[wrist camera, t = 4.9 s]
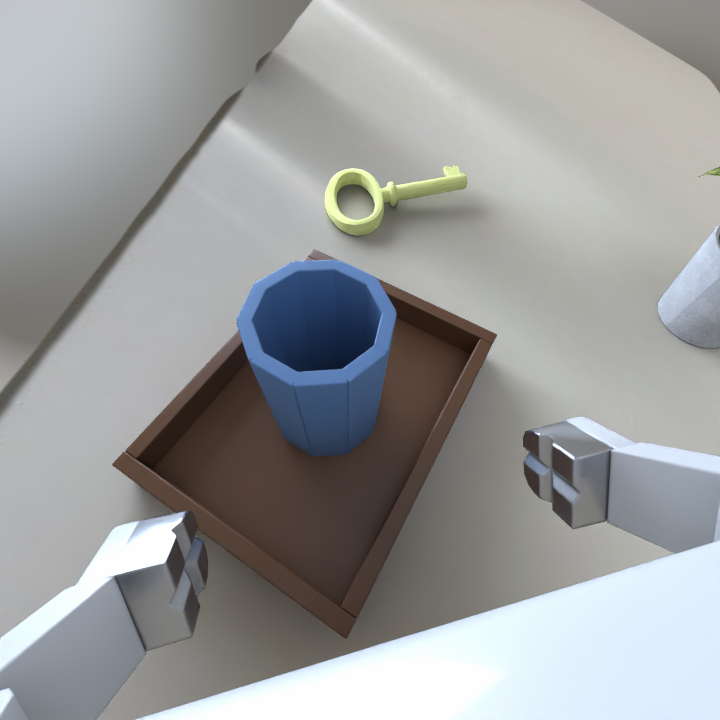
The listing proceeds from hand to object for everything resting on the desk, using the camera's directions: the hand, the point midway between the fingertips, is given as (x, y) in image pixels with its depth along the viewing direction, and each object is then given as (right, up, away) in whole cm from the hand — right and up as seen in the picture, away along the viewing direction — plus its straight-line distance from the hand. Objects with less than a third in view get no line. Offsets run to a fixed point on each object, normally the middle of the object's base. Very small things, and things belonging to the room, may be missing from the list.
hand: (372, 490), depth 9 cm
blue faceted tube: (-2, 0, +13) cm, 14 cm away
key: (+2, +17, +24) cm, 29 cm away
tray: (-2, 0, +14) cm, 14 cm away
